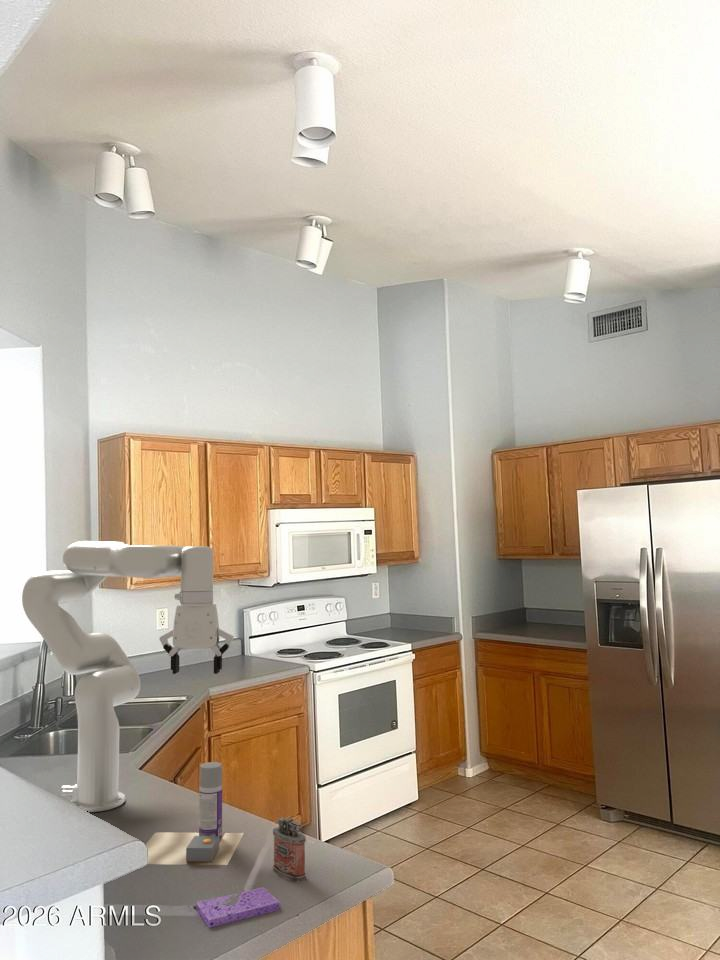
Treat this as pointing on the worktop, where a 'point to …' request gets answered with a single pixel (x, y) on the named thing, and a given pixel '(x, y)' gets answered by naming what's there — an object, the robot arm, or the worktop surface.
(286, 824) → the lighter
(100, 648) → the robot arm
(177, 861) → the board
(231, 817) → the worktop surface
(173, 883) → the worktop surface
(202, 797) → the container
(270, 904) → the sponges
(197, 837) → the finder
